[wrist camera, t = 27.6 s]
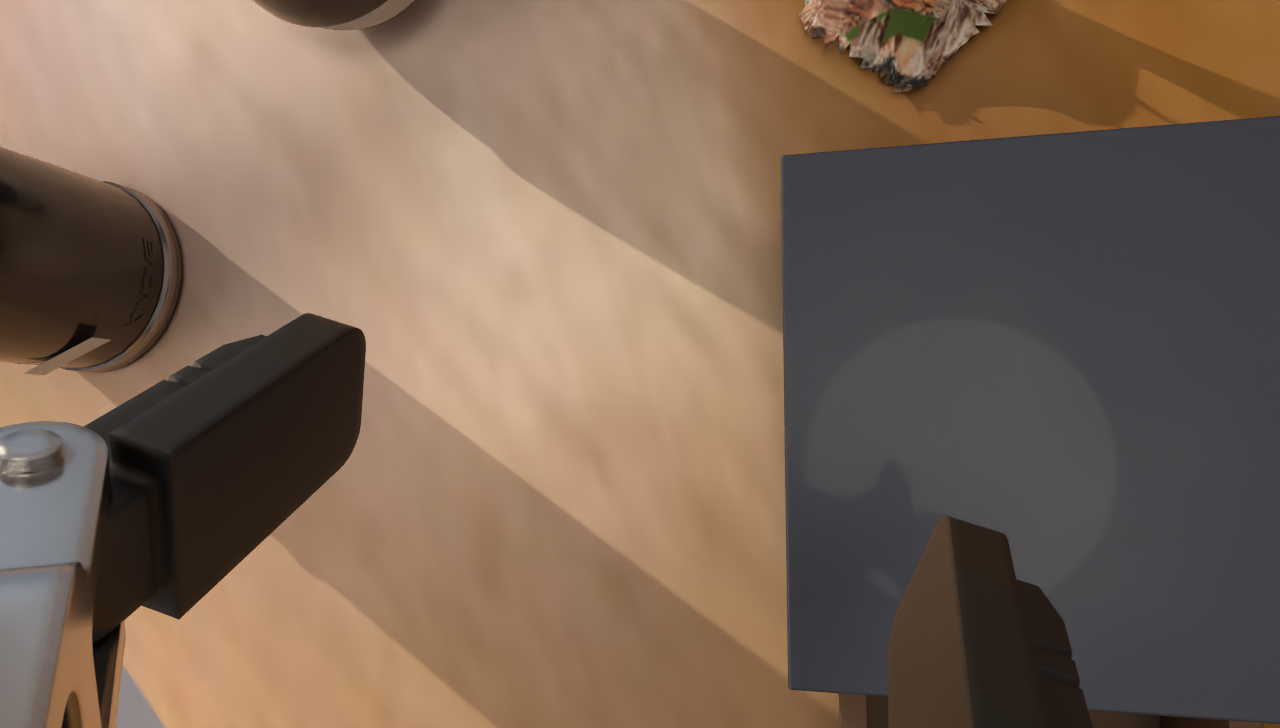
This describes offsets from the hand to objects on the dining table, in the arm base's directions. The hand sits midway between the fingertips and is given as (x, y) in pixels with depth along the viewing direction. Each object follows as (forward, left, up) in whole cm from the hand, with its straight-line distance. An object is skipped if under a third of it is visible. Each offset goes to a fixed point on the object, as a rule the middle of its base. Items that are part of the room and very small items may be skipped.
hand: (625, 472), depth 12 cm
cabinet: (+7, +2, -24) cm, 25 cm away
